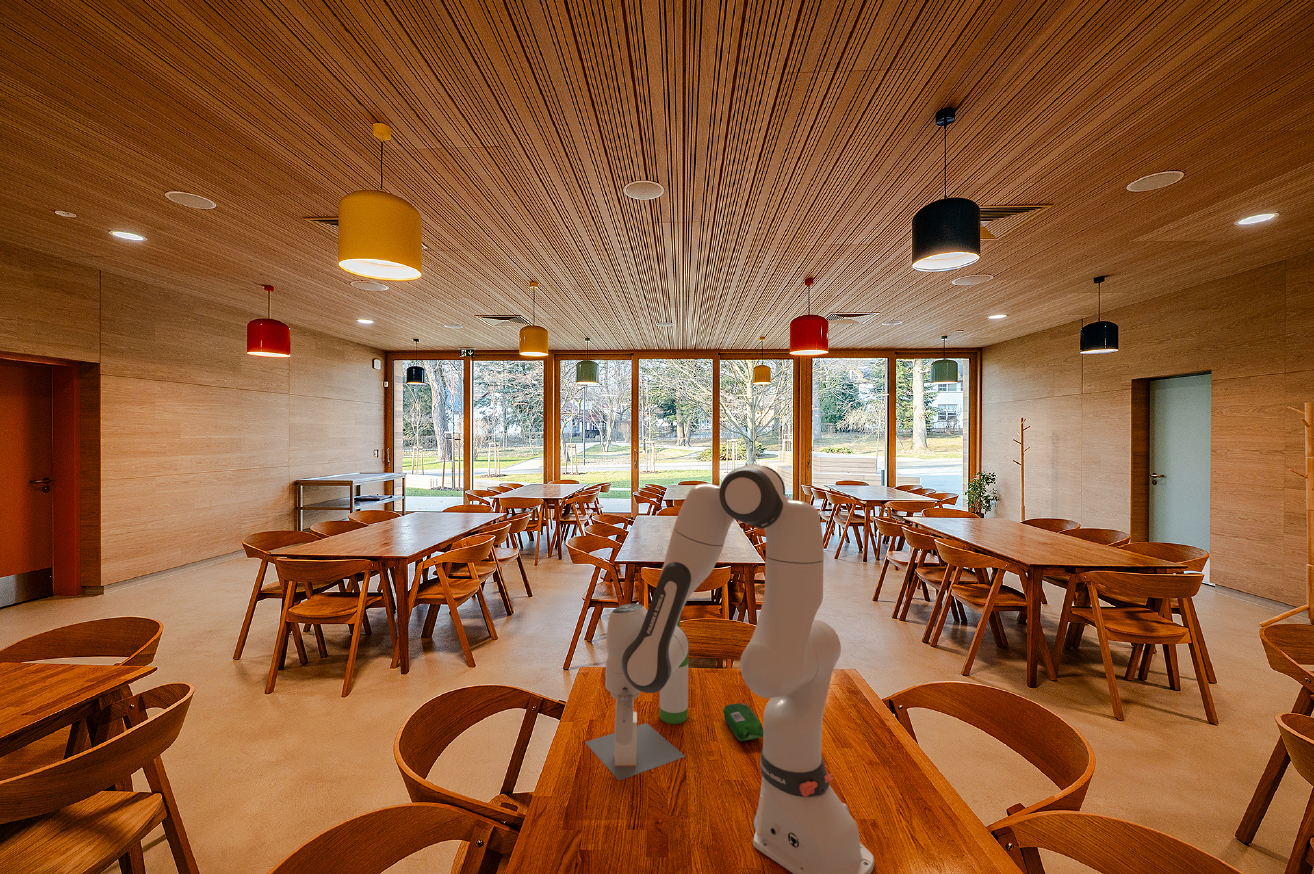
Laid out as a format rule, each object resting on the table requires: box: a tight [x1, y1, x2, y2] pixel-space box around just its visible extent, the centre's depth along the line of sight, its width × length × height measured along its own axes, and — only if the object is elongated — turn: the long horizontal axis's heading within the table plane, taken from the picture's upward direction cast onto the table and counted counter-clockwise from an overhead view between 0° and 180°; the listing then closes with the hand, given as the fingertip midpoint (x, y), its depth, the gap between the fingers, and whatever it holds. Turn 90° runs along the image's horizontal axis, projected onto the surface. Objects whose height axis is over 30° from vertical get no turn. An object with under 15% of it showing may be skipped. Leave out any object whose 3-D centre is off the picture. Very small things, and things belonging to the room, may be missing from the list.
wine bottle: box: [659, 616, 689, 725], centre depth 146 cm, size 8×8×30 cm
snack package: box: [722, 702, 763, 742], centre depth 140 cm, size 7×16×5 cm, turn 11°
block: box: [615, 711, 638, 767], centre depth 125 cm, size 5×5×10 cm
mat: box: [584, 722, 687, 782], centre depth 130 cm, size 18×18×1 cm
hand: (624, 741), depth 117 cm, fingers closed
